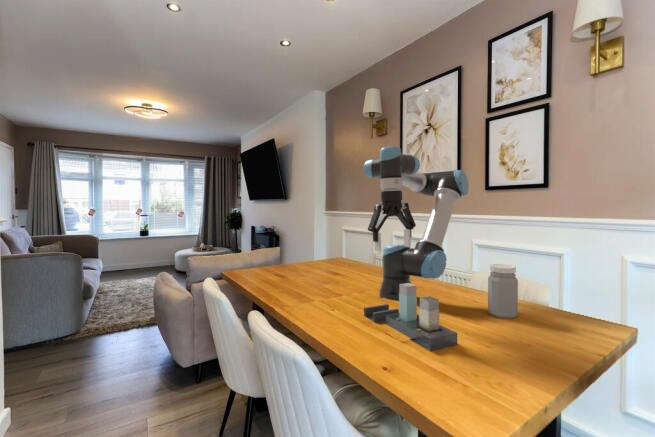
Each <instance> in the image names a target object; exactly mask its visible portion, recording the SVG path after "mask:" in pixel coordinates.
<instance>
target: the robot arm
mask: <svg viewBox="0 0 655 437" xmlns="http://www.w3.org/2000/svg"><path fill="white" fill-rule="evenodd" d="M401 149H402V148H400V146H395V145H392V146H391V145H390V146H385V147H382V148H381V149H380V150H379V158H372V159H369V160H366V161H365V162H364V164H363V173H364V175H365V176H366V177H367V178H369V179H370V178H371V179H375V178H377V179H380V190H381V192H380V201H381V204H375V205H374V210H373V213H372V216H371V219H370V222H369V224H368V227H367V231H368V232H370V233H372V242H374V251H377V252H382V250H383V252H382V272H383V274H382V281H381V285H380V287H379V295H378V296H379V297H380V298H381V299H387V300H390V301H391V300H393V301H399V284H405V283H410V284H412V283H411V277H412V276H413V277H418V278H421V279H433V280H436V279H438V278H440V277H441V276H442V275H443V274H444V272H445V270H446V267H447V255H446V253H445V249H444V247H443V243H444V239H445V237H446V235H447V234H446V233H447V231H448V227H449V224H450V220H451V218H452V215H453V211H454V208H455V204H457V203H458V202H460V200H461V197H462V196H466V195H468V192H469V185H470V184H469V180H468V176H467V174H466V172H465V171H464V170H463V169H462V170H461V169H458V170H456V169H454V170H448V171H447V170H446V171H445V170H444V171H436V172H435V171H433V172H424V173H423V172H421V171H419V170H420V167H421V163H420V162H421V161H420V159H419V157H417V156H415V155H413V154H402V150H401ZM403 187H407V188H408V189H409V190H410V191H412V192H414V193H417V194H421V195H422V196H423V195H424V196H428V197H434V198H435V200H434V203H433V206H432V207H431V208H432V209H431V211H430V214H429V218H428V220H427V223H426V225H425V228H424V231H423V235H422V237H421V240H417V242H416V244H415V247H413V248H412V247H411V240H412V230H414V229H415V228H416V226H417V224H416V222H415V220H414V217H413V215H412V213H411V210H410V206H409V203H408V202H402V201H403V191H402V188H403ZM390 217H397V219H399V221H400V223H401V224H402V225H403V227H404V229H403V244H391V245H386V246H384V248H383V249H382V240H381V239H382V233H381V232H379V231H380V230H381V229H382V227H383V225H384V223H385V222H386V221H387V219H388V218H390Z"/></svg>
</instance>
